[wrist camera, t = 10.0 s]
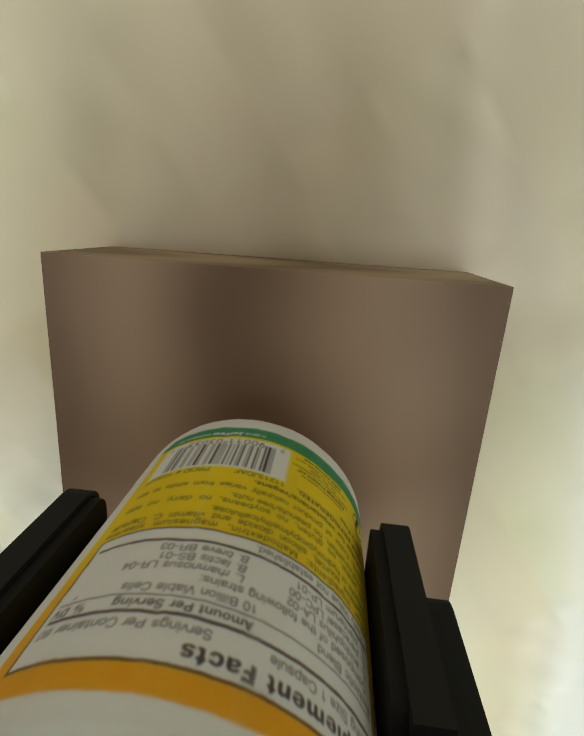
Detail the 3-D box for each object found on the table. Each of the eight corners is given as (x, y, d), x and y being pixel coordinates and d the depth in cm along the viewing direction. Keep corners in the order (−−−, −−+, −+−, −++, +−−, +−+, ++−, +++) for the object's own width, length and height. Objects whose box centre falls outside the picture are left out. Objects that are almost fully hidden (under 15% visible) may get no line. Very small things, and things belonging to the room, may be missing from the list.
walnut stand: (467, 272, 15) (513, 287, 11) (414, 574, 18) (435, 663, 15) (112, 246, 16) (40, 251, 12) (126, 540, 19) (75, 617, 15)
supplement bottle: (248, 365, 10) (-625, 1750, 1) (407, 524, 11) (792, 2105, 2) (101, 504, 12) (-812, 1577, 2) (251, 635, 13) (7, 1816, 3)
